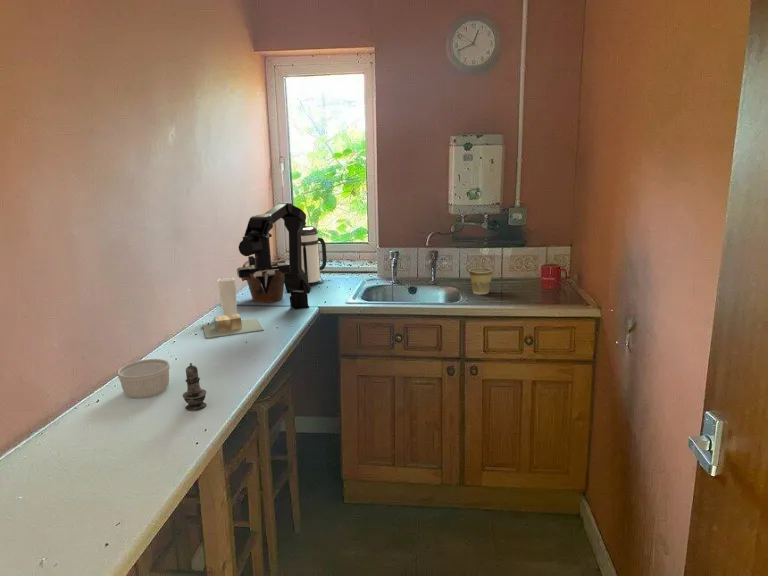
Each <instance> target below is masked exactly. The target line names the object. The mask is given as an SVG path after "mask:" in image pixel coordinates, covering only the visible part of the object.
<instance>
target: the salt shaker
mask: <svg viewBox="0 0 768 576" xmlns="http://www.w3.org/2000/svg"><path fill="white" fill-rule="evenodd" d="M185 373H186V379H185V380H184V381H185V383H186V385H187V391H185V392H183V394H182V398H183V399H184V401H185V402H186V404H187V405H186V406H185V407H184V408H185V410H186V411H188V412H196V411H201V410H203V409H205V408H206V407H207V403H206V402H204V400H205V399H206V396H207V391H206V390H205V389H203V388H201V385H200V380H201V378H200V377H199V370H198V367H197V366H195V365H193V363H192V362H190V363H189V365H188V366H187V367H186V368H185Z"/></svg>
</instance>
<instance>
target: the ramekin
mask: <svg viewBox="0 0 768 576" xmlns="http://www.w3.org/2000/svg"><path fill="white" fill-rule="evenodd" d="M170 369H171V366H170V363H169V361H167V360H166V359H161V358H148V359H147V358H146V359H140V360H136V361H133V362H129V363H128V364H125V365H123V366H121V367H120V368H119V369H118V370H117V378H118V379H119V381H120V385H121V388H122V391H123V393H124V395H126V396H127V397H129V398H131V399H146V398H153V397H155V396H158V395H160V394H162V393H164V392H165V391H167V388H168V387H169V384H170Z"/></svg>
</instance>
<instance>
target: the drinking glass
mask: <svg viewBox="0 0 768 576" xmlns="http://www.w3.org/2000/svg"><path fill="white" fill-rule="evenodd" d="M216 281H217V289H218V294H219V300H220V301H219V302H220V305H221V310H222V316H226V315H233V314H238V308H237V283H236V279H235V277H232V276H231V277H230V276H229V277H228V276H227V277H222V278H218V279H217V280H216Z"/></svg>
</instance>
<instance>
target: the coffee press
mask: <svg viewBox="0 0 768 576" xmlns="http://www.w3.org/2000/svg"><path fill="white" fill-rule="evenodd" d="M318 234H319V231H318V230H317V227H316V226H315V227H314V226H313V225H307V222H306V221H305V226H304V228H303V230H302V232H301V255H302V269H303V271H304V273H305V274H306V280H307V282H308V283H309V284H310V283H311V284H313V283H317V282H319V283H320V284H324V279H323V278H322V276H321V271H323V270H324V269H325V268H326V265H327V248H326V247H327V246H326V242H325V240H324V238H322V237H318ZM319 242H320V244H321V255H322V263H320V261H321V258H320V248H319V246H320V245H319ZM320 279H321V281H320Z"/></svg>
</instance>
